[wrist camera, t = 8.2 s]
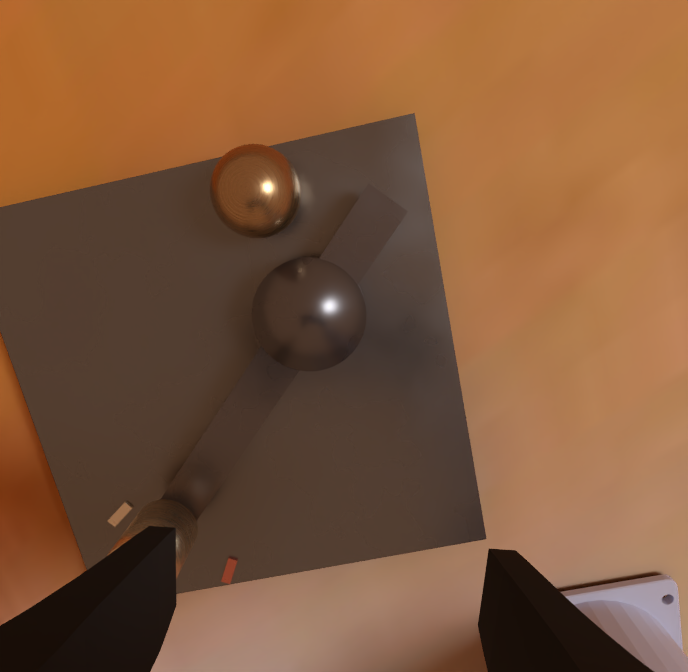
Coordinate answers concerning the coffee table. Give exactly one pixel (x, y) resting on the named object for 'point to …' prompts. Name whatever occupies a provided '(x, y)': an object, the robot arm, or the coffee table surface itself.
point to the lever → (280, 357)
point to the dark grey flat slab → (241, 358)
